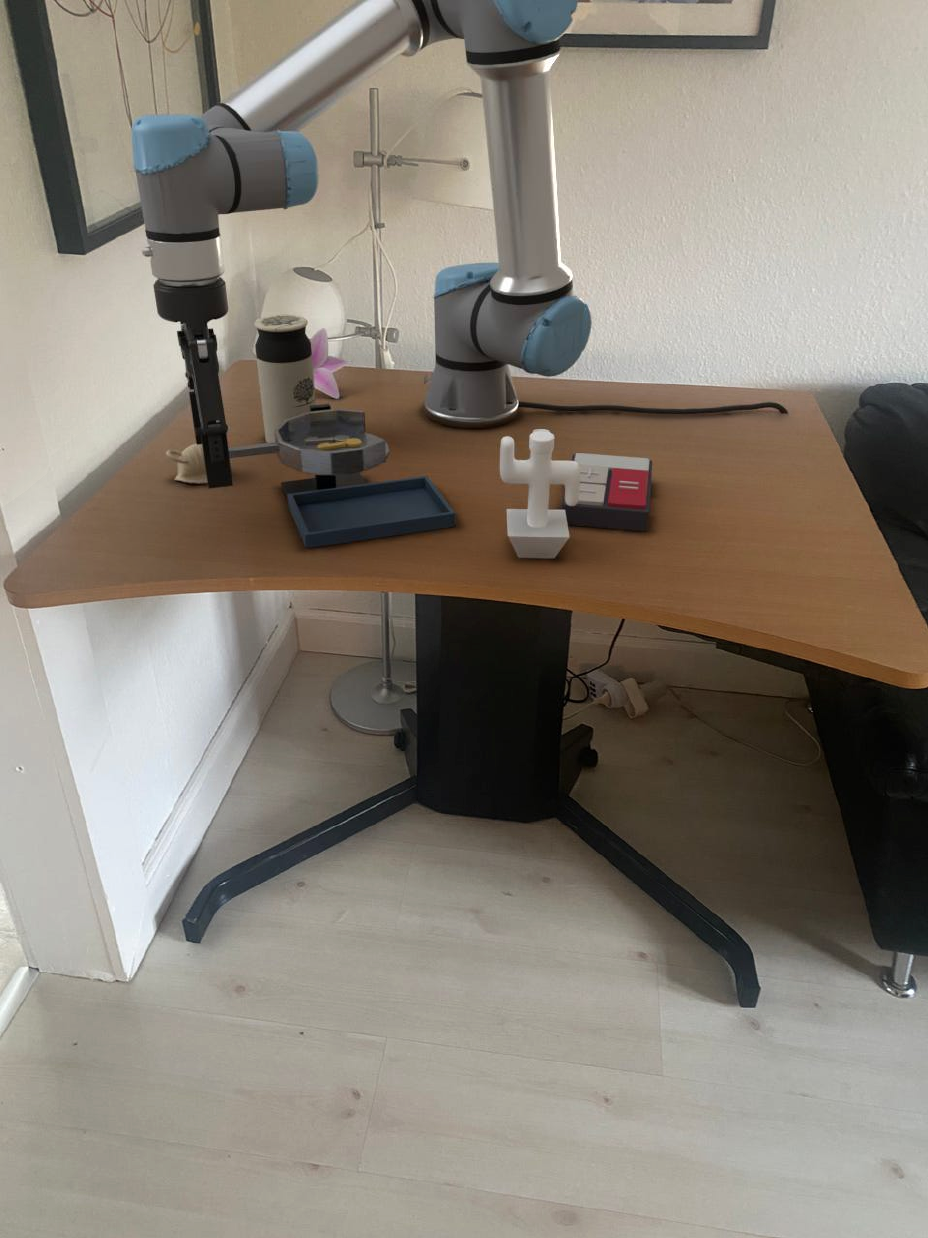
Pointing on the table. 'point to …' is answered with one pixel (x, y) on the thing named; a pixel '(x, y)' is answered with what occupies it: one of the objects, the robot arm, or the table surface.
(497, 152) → the robot arm
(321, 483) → the stand
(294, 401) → the travel mug
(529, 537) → the figurine
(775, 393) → the table surface
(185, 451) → the decorative ornament
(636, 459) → the calculator
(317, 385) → the lily
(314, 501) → the tray
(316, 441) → the nickel key
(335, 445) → the brass key
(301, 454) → the grey frying pan
